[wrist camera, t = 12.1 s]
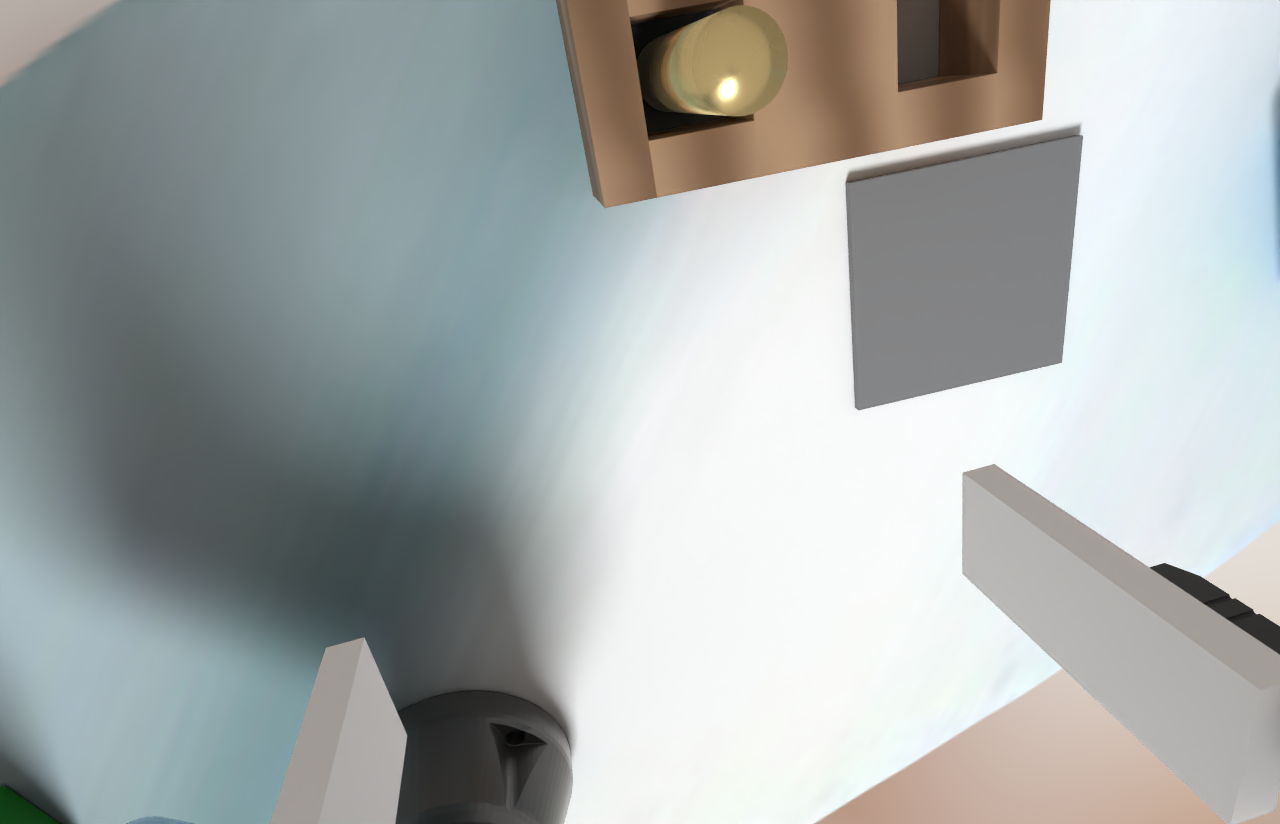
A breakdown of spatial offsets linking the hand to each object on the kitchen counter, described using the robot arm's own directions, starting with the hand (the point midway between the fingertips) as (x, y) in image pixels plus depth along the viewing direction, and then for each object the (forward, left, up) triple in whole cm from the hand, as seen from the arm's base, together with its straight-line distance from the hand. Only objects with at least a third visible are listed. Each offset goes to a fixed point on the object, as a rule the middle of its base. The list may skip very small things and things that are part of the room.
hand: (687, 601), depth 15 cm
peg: (+7, +10, -27) cm, 29 cm away
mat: (+23, -4, -27) cm, 36 cm away
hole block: (+13, +10, -27) cm, 31 cm away
